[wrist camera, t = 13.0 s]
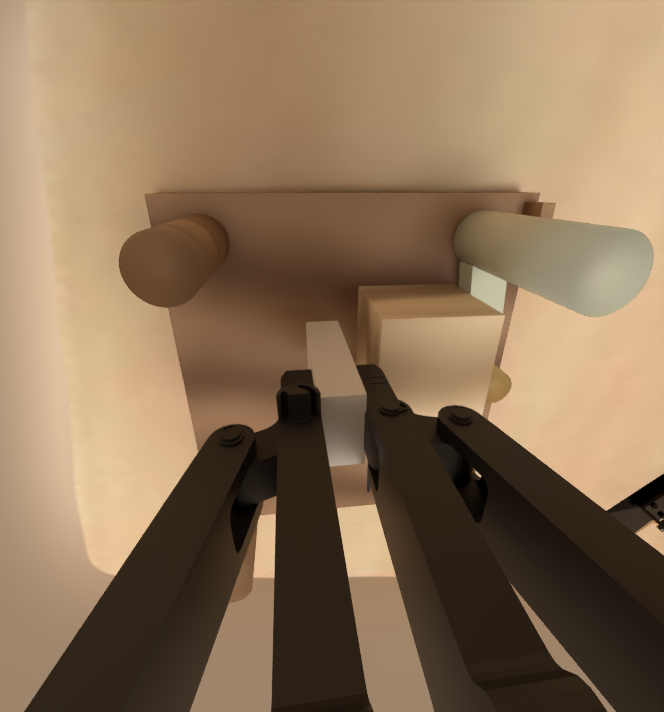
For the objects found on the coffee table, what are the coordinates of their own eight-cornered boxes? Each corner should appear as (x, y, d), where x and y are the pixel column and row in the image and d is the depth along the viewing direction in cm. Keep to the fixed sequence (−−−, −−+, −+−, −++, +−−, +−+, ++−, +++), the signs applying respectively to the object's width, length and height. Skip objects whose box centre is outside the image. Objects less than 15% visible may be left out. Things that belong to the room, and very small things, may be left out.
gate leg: (454, 213, 17) (577, 234, 10) (507, 207, 17) (665, 223, 10) (448, 337, 20) (539, 423, 13) (492, 331, 20) (607, 413, 13)
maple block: (358, 286, 18) (382, 319, 14) (452, 283, 19) (505, 315, 14) (355, 372, 20) (374, 425, 16) (439, 367, 21) (481, 418, 16)
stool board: (156, 193, 17) (67, 199, 10) (520, 192, 19) (655, 197, 12) (216, 500, 25) (191, 616, 19) (460, 478, 27) (517, 576, 20)
